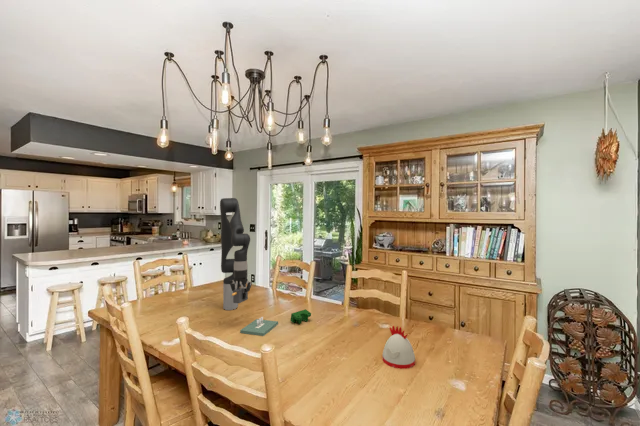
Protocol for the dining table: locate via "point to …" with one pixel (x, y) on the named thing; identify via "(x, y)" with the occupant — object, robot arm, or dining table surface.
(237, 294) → the block
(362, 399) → the dining table surface
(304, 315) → the green toy animal
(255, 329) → the header board
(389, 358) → the kitchen timer
